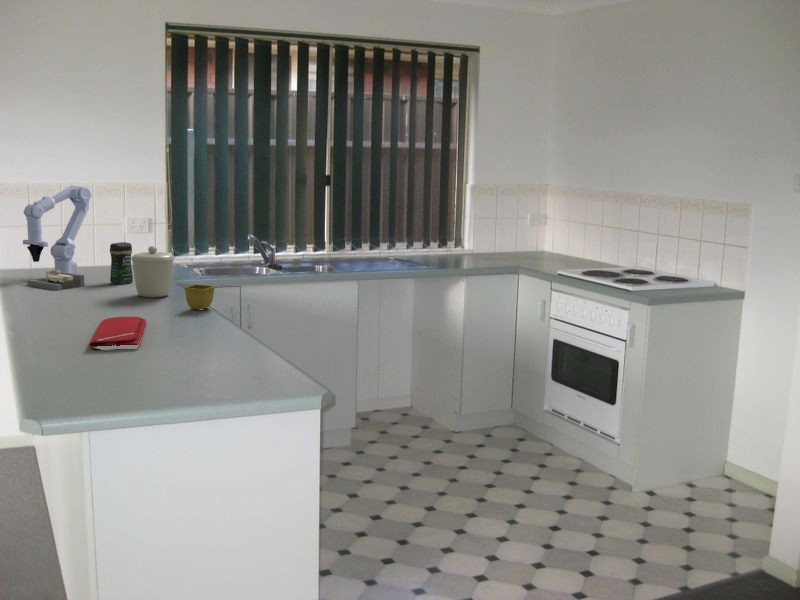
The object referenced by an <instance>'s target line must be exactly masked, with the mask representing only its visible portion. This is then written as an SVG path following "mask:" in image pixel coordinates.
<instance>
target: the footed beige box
mask: <svg viewBox="0 0 800 600" xmlns="http://www.w3.org/2000/svg"><path fill="white" fill-rule="evenodd" d="M45 277H46V281H47V282H49V283H53V281H56V282H57V284H60V283H61V282H64V281H67V282H68V281H72V280H73V276H70V275H63V274H61V270H55V269H53V271H52V270H46V271H45Z"/></svg>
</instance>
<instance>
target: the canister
mask: <svg viewBox="0 0 800 600" xmlns="http://www.w3.org/2000/svg"><path fill="white" fill-rule="evenodd" d="M130 259H131V264H132V271H133V275H134V282H135V289H136V292H137V294H138V295H139V296H140V297H142V298H150V299H151V298H153V299H154V298H163V297H166V296H168V295H170V293H171V290H172V281H173V280H172V279H173V272H174V271H173V269H174V260H175V259H176V256H174V255H173V254H171V253H168V252H163V251H162V252H161V251H158V248H157V247H156V246H154V245H151V246H148V251H145V252H138V253H135V254H133V255H131V257H130Z"/></svg>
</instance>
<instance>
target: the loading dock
mask: <svg viewBox="0 0 800 600" xmlns="http://www.w3.org/2000/svg"><path fill="white" fill-rule="evenodd" d="M53 270H54V269H53ZM53 270H52V269H51V271H53ZM61 274H63V275H70V276H73V280H72V281H68V282H67V281H64V282H61V283H60V284H57V282H56V281H53V283H49V282H48V281H42V280H37V279H27V280H26V286H28V287H29V286H31V287H36V288H41V289H48V290H54V291H62V290H63V291H64V290H69V289H74V288H81V287H85V275H84V274H79V273H77V274H74V273H68V272H61Z"/></svg>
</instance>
